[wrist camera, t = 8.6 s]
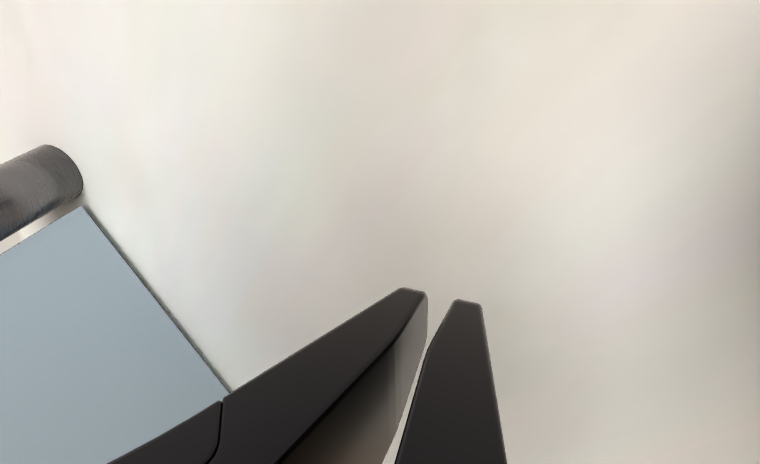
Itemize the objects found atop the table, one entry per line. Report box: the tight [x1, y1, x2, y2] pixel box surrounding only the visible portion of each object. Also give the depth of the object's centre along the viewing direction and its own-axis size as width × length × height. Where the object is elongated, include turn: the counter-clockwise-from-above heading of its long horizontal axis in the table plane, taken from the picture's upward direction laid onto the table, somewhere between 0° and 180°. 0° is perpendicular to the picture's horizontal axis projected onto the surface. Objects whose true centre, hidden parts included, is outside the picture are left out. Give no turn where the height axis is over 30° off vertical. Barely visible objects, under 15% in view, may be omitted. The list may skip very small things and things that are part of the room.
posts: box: [0, 145, 83, 241], centre depth 26 cm, size 24×3×16 cm, turn 31°
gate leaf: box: [0, 206, 229, 464], centre depth 26 cm, size 18×2×14 cm, turn 31°
